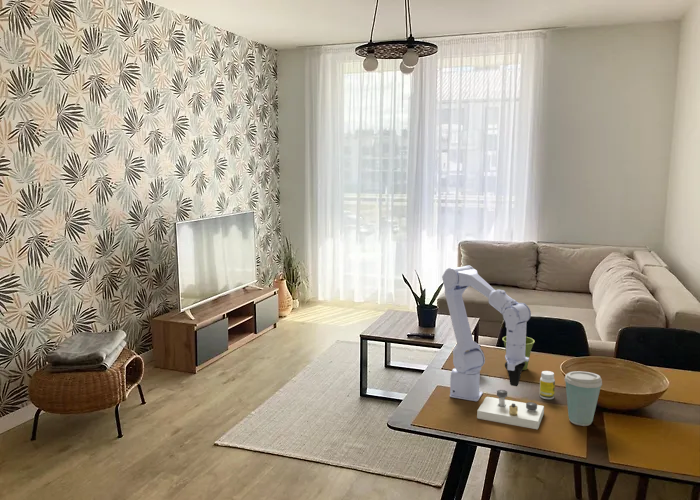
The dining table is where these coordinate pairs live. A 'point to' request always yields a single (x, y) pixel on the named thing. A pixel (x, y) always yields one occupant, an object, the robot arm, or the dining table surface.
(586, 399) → the disposable coffee cup
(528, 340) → the plant pot
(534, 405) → the knob
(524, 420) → the mount block
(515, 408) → the gold domed cylinder
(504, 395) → the knob
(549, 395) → the supplement bottle
